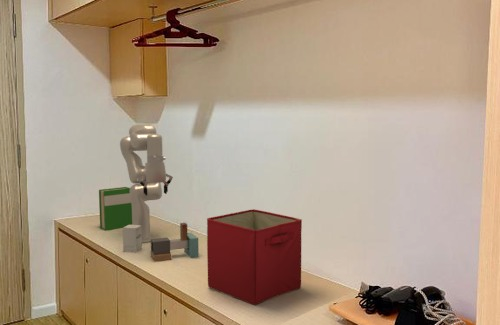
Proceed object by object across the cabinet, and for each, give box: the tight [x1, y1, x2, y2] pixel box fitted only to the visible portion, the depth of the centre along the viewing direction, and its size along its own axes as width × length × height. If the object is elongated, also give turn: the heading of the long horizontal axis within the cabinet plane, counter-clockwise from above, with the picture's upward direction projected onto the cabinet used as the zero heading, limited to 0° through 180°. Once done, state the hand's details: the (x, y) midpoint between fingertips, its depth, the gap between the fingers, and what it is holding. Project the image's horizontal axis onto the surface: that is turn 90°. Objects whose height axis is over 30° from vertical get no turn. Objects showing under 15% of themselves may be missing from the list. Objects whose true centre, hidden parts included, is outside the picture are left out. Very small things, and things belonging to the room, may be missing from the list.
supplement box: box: [122, 225, 143, 253], centre depth 265 cm, size 7×7×13 cm
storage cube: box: [206, 208, 303, 306], centre depth 207 cm, size 32×28×29 cm
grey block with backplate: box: [149, 236, 172, 263], centre depth 251 cm, size 10×8×9 cm
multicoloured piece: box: [169, 222, 189, 251], centre depth 254 cm, size 4×14×12 cm, turn 113°
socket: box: [183, 232, 199, 259], centre depth 257 cm, size 12×4×10 cm, turn 23°
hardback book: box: [98, 186, 132, 232], centre depth 316 cm, size 18×7×24 cm, turn 130°
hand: (155, 194), depth 256 cm, fingers open, 9 cm apart
